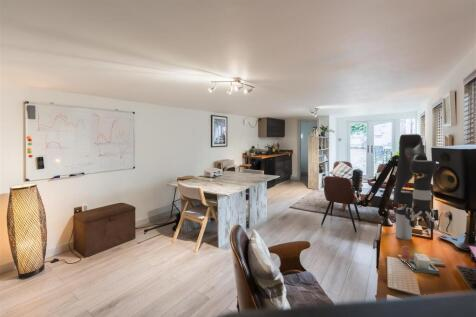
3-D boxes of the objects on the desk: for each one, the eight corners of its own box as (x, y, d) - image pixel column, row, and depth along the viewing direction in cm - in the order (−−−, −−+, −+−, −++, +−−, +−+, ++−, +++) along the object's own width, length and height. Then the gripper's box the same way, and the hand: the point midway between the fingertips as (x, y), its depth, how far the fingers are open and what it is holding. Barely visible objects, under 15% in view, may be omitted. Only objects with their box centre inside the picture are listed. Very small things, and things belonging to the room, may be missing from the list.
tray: (406, 263, 129) (406, 259, 128) (429, 265, 126) (429, 261, 126) (414, 271, 120) (414, 268, 120) (439, 274, 117) (439, 270, 117)
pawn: (399, 256, 135) (400, 243, 134) (407, 256, 134) (407, 244, 133) (402, 259, 131) (403, 246, 130) (410, 260, 130) (411, 247, 129)
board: (397, 256, 136) (397, 254, 136) (437, 259, 131) (437, 258, 131) (402, 262, 129) (403, 260, 129) (445, 266, 124) (445, 264, 124)
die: (413, 260, 127) (414, 253, 126) (424, 261, 126) (425, 254, 124) (417, 267, 123) (418, 259, 121) (428, 268, 121) (430, 261, 119)
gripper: (433, 196, 124) (433, 225, 125) (403, 195, 127) (403, 224, 128) (442, 199, 116) (441, 231, 118) (409, 199, 120) (409, 229, 121)
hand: (421, 227), depth 123 cm, fingers open, 8 cm apart
